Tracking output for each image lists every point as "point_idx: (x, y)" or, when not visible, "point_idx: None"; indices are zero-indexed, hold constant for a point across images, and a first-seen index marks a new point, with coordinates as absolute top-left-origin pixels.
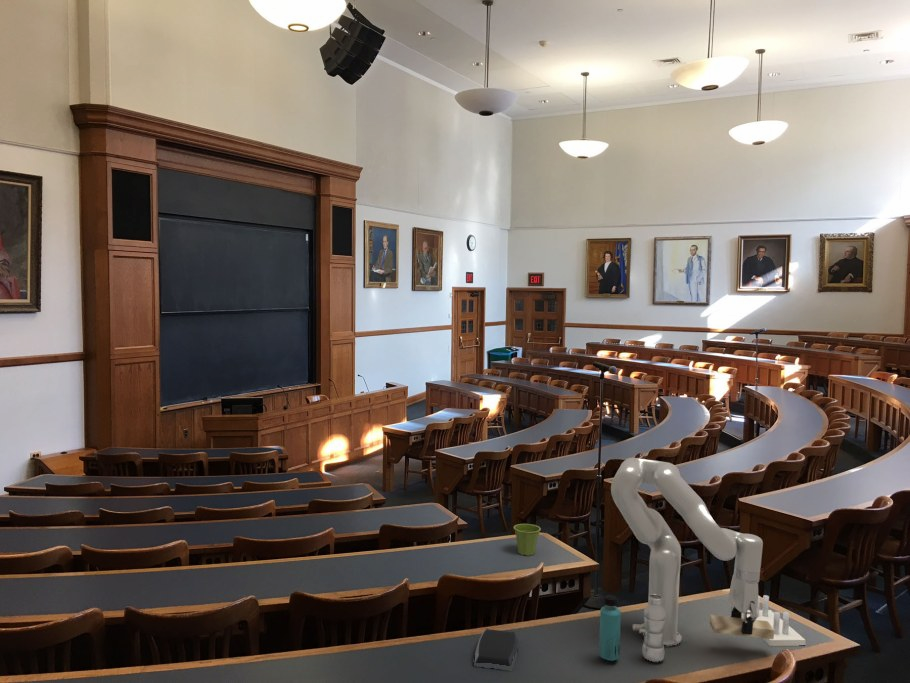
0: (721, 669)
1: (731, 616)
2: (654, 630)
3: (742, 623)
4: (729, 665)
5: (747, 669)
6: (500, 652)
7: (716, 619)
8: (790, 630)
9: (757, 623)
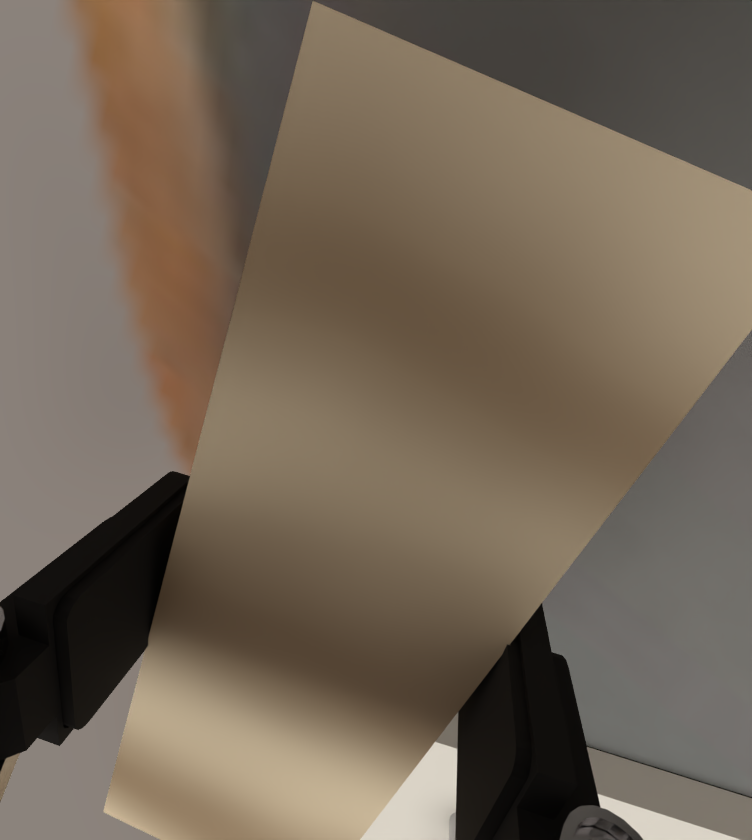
0: (145, 49)
1: (535, 650)
2: None
3: (84, 571)
4: (203, 189)
5: (135, 305)
6: None
7: (516, 219)
8: None
9: (258, 791)
